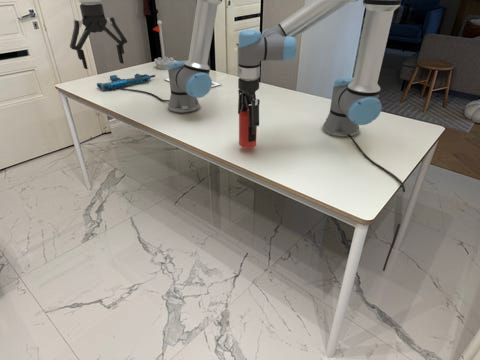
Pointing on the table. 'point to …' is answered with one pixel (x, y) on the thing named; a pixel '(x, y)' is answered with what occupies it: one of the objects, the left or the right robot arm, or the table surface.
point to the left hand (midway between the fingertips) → (104, 65)
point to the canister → (245, 130)
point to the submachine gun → (123, 81)
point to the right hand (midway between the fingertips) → (247, 136)
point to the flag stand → (165, 61)
